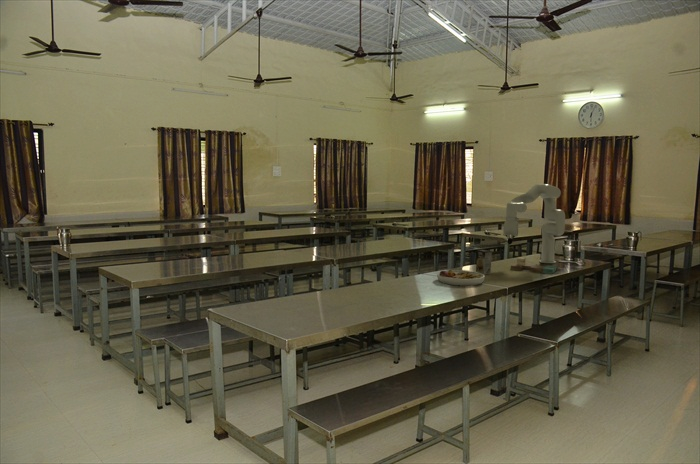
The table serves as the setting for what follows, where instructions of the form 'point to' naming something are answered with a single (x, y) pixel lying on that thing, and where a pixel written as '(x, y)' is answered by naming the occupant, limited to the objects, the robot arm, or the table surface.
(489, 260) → the coffee box
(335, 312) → the table surface
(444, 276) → the bowl
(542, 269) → the trap board
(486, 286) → the table surface
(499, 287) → the table surface
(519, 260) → the birch block
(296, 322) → the table surface
